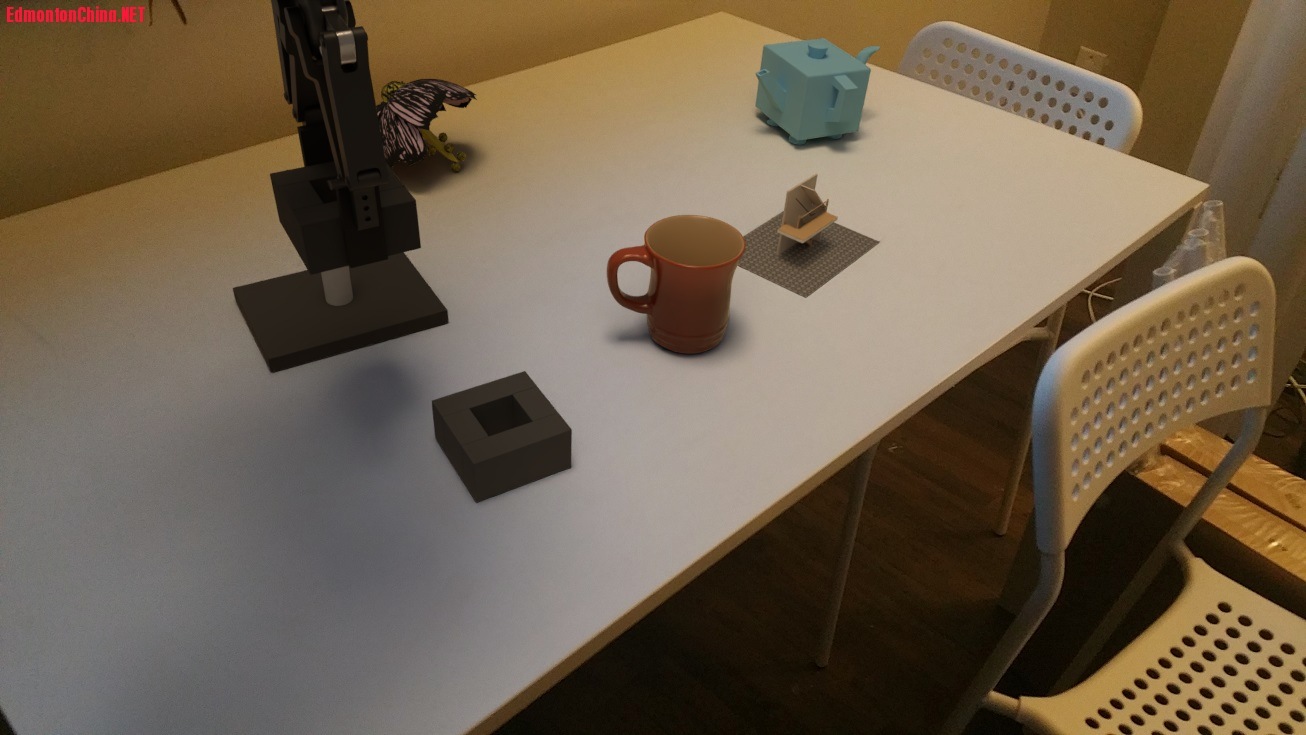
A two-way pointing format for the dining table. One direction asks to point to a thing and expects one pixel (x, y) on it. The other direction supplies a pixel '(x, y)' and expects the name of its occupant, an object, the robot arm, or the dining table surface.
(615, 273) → the mug
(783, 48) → the teapot
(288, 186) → the dark block with hole
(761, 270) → the architectural model
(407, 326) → the base pad
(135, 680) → the dining table surface
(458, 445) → the grey square-holed block
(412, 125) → the decorative flower
